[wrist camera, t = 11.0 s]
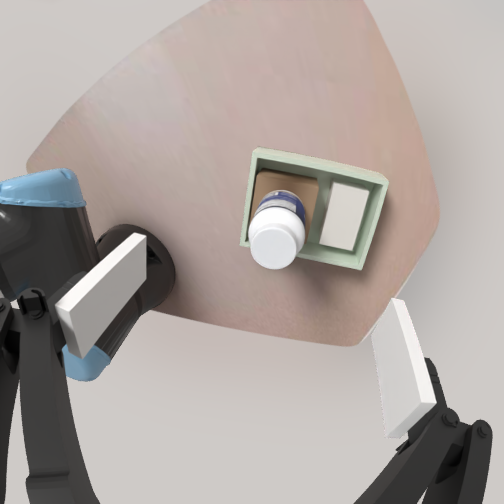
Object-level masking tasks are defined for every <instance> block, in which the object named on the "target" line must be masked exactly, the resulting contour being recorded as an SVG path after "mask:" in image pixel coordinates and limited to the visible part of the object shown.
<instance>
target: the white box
mask: <svg viewBox="0 0 504 504" xmlns="http://www.w3.org/2000/svg"><path fill="white" fill-rule="evenodd" d="M368 195H369V191H368V189H367V188H366V186H365V185H361V184H357V183H353V182H349V181H345V180H341V179H336V178H332V179H331V184H330V188H329V193H328V197H327V201H326V205H325V210H324V214H323V218H322V222H321V226H320V230H319V234H318V235H319V244H323V245H327V246H332V247H337V248H341V249H346V250H351V251H352V249H353V246H354V243H355V240H356V237H357V233H358V230H359V227H360V223H361V220H362V216H363V213H364V209H365V206H366V202H367V198H368Z"/></svg>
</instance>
